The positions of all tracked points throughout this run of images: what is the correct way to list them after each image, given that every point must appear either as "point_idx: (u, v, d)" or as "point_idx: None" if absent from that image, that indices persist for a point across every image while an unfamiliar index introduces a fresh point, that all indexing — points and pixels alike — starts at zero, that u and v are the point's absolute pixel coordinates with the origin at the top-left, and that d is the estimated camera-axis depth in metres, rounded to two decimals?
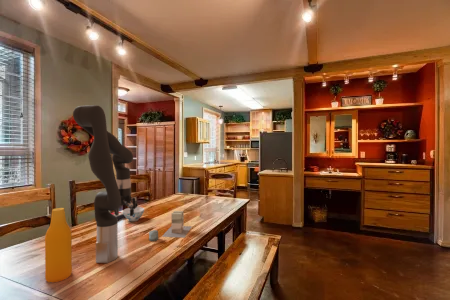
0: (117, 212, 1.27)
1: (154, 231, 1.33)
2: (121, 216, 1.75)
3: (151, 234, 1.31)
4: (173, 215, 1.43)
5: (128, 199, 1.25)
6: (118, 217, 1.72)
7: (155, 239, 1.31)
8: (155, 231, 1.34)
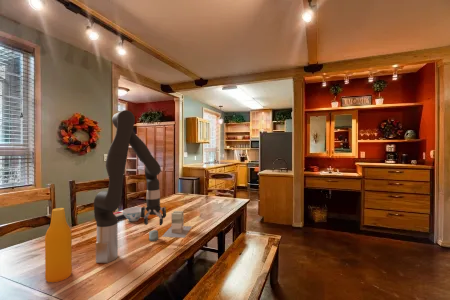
0: (147, 221, 1.34)
1: (154, 231, 1.33)
2: (122, 216, 1.75)
3: (151, 234, 1.31)
4: (173, 215, 1.43)
5: (158, 209, 1.32)
6: (119, 217, 1.72)
7: (155, 239, 1.31)
8: (155, 231, 1.34)
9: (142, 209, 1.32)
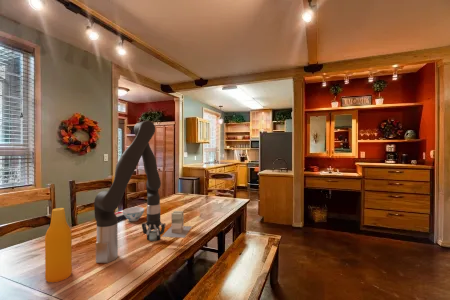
0: None
1: (154, 231, 1.33)
2: (123, 216, 1.74)
3: (151, 234, 1.31)
4: (173, 215, 1.43)
5: (158, 225, 1.32)
6: (120, 217, 1.71)
7: (155, 239, 1.31)
8: (155, 231, 1.34)
9: (143, 225, 1.32)
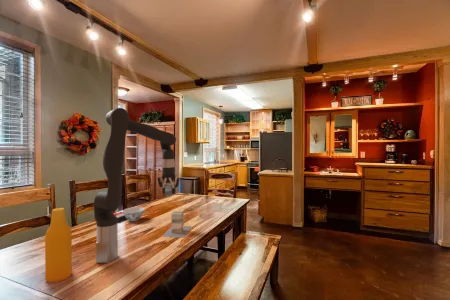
0: None
1: (169, 185, 1.41)
2: (124, 217, 1.74)
3: (167, 186, 1.39)
4: (173, 215, 1.43)
5: (173, 178, 1.39)
6: (121, 218, 1.71)
7: (171, 191, 1.39)
8: (170, 184, 1.42)
9: (158, 179, 1.40)
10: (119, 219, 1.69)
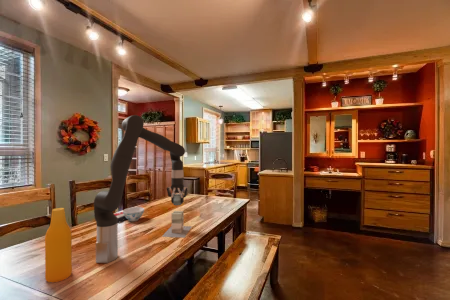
0: (173, 200, 1.46)
1: (178, 194, 1.46)
2: (125, 217, 1.73)
3: (175, 196, 1.43)
4: (173, 215, 1.43)
5: (182, 188, 1.44)
6: (122, 218, 1.70)
7: (179, 201, 1.44)
8: (179, 194, 1.46)
9: (167, 189, 1.45)
10: (120, 219, 1.68)
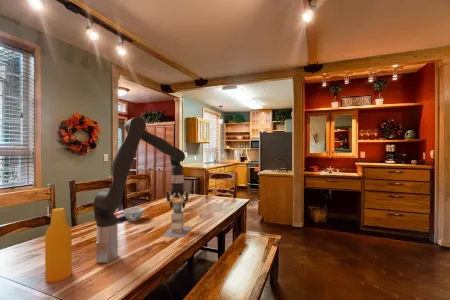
0: (172, 205, 1.46)
1: (178, 202, 1.46)
2: (125, 217, 1.73)
3: (175, 204, 1.44)
4: (173, 215, 1.43)
5: (182, 193, 1.44)
6: (122, 218, 1.70)
7: (179, 209, 1.44)
8: (179, 202, 1.47)
9: (167, 193, 1.45)
10: (119, 219, 1.68)
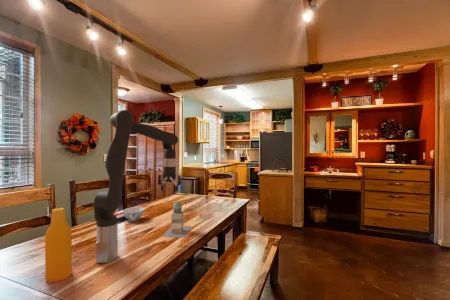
0: (163, 188, 1.44)
1: (178, 202, 1.46)
2: (125, 217, 1.72)
3: (175, 204, 1.44)
4: (173, 215, 1.43)
5: (174, 176, 1.42)
6: (121, 218, 1.70)
7: (179, 209, 1.44)
8: (179, 202, 1.47)
9: (159, 176, 1.43)
10: (119, 220, 1.68)
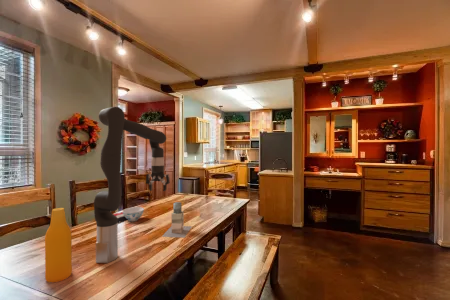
0: (151, 188, 1.42)
1: (178, 202, 1.46)
2: (124, 217, 1.72)
3: (175, 204, 1.44)
4: (173, 215, 1.43)
5: (162, 175, 1.40)
6: (121, 218, 1.70)
7: (179, 209, 1.44)
8: (179, 202, 1.47)
9: (147, 176, 1.41)
10: (119, 220, 1.68)
